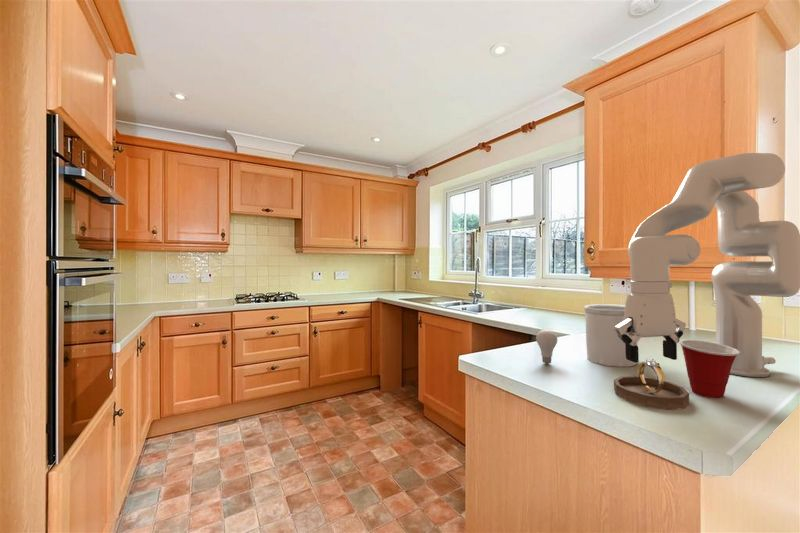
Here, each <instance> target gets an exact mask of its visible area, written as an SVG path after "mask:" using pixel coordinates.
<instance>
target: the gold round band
mask: <svg viewBox="0 0 800 533" xmlns="http://www.w3.org/2000/svg"><path fill="white" fill-rule="evenodd" d="M646 367H649V368H651V369H652V370H653V371H654V373H655V376H656V379H657V387H656V388H655V389H654V390H653V389H652V388H649V387H648V385H647V384H646V382H645V379H644V377H645V368H646ZM637 375H638V376H639V379H640V382H641V384H642V386H643V387H644V388H645V389H646V390H647V392H648V393H658V392H660V391H661V389H662V387H663V384H664V381H665V374H664V371H663V369H662V368H661V366H660V363H659V362H657V361H656V360H654V358H652V359H648V358H645V361H642V362H640V363H638V365H637Z"/></svg>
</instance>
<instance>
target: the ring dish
mask: <svg viewBox="0 0 800 533" xmlns="http://www.w3.org/2000/svg"><path fill="white" fill-rule="evenodd" d="M644 379H645V382H646V384H647V385H648V387H649V388H652V389H653V390H654V389H655V388H656V387H657V378H655V377H654V378H653V377H650V376H649V377H647V376H644ZM686 389H687V388H685V387H683V386H681V385H678V384H676V383H673V382H671V381H668V380H664V384H663V387H662V389H661V391H660V392H658V393H648V392H647V390H646V389H645V388H644V387H643V386H642V384H641V382H640V379H639V376H637V375H627V376H625V375H624V376H618V377H616V378H614V379H613V390H614V392H615V395H616V396H618V397H620V398H621V399H623V400H625V401H627V402H629V403H633V404H636V405H639V406H643V407H646V408H653V409H654V408H655V409H661V410H670V411H671V410H683V409H685V408H687V407H688V406H689V405H690V392H688V390H686Z"/></svg>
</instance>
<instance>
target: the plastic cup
mask: <svg viewBox="0 0 800 533" xmlns="http://www.w3.org/2000/svg"><path fill="white" fill-rule="evenodd" d="M679 345H680V346H681V349H682V353H683V357H684V363H685V367H686V374H687V378H688V381H689V385H690V389H691V391H692V393H693V394H695V395H698V396H701V397H705V398H711V399H722V398H724V396H725V393H726V388H727V385H728V382H729V380H730V379H729V378H730V375H731V374H730V371H731V367H732V364H733V362H734V359H735V357H736V356H737V355H738V354H739V353H740V351H738V350H737V349H734V348H732V347H729V346H725V345H721V344H717V343H716V342H712V341H711V342H710V341H707V340H705V341H704V340H696V339H694V340H693V339H683V340H682V339H681V340H680V341H679Z"/></svg>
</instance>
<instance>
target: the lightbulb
mask: <svg viewBox="0 0 800 533" xmlns="http://www.w3.org/2000/svg"><path fill="white" fill-rule="evenodd" d="M535 340H536V343H537V345H538V346H539V349H540V353H541V360H542V363H543V364H545V365H549V364H552V357H553V352H554V350H555V347H556V346H557V344H558V336H557V334H556V333H555V332H554V331H553V330H551V329H542V330H540V331H538V333H536V337H535Z"/></svg>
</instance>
